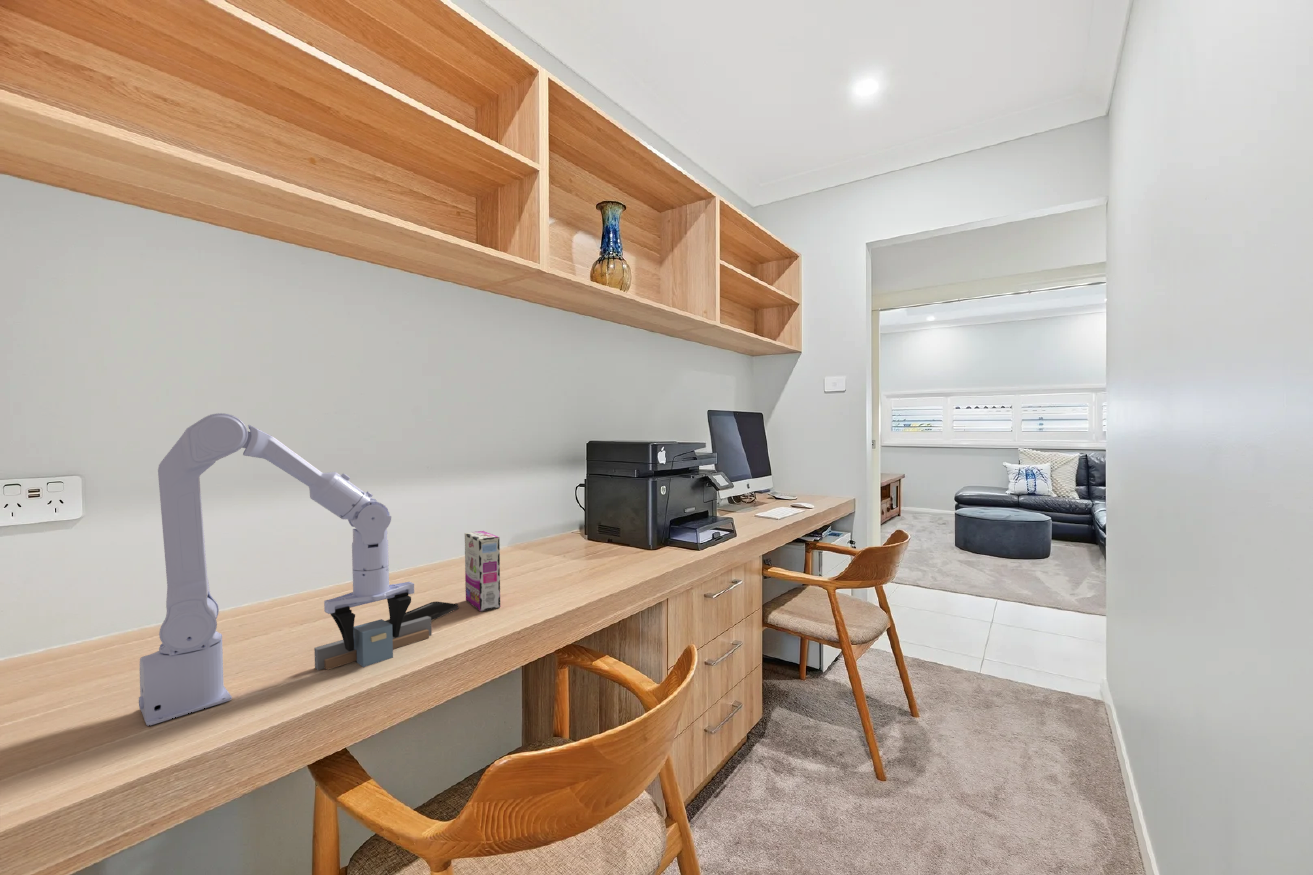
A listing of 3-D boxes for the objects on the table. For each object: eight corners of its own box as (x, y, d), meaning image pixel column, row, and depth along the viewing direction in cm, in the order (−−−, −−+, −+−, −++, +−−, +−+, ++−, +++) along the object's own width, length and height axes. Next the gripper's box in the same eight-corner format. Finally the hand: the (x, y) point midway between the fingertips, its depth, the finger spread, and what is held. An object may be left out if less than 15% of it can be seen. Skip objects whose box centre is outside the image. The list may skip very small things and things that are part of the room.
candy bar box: (502, 607, 123) (500, 536, 122) (480, 612, 120) (478, 539, 120) (485, 596, 132) (483, 529, 131) (464, 600, 129) (463, 532, 128)
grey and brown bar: (320, 672, 91) (319, 651, 91) (314, 667, 93) (314, 647, 93) (434, 636, 106) (433, 618, 106) (427, 633, 108) (427, 616, 108)
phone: (380, 622, 112) (434, 601, 126) (380, 628, 112) (434, 605, 126) (408, 627, 109) (460, 604, 123) (408, 632, 109) (460, 609, 123)
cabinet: (364, 668, 92) (364, 633, 92) (353, 660, 96) (352, 626, 96) (394, 658, 96) (393, 625, 96) (382, 651, 99) (381, 619, 99)
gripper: (333, 579, 88) (336, 662, 88) (421, 562, 99) (422, 635, 99) (319, 572, 92) (321, 651, 93) (404, 556, 103) (405, 626, 104)
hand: (372, 642), depth 96 cm, fingers open, 7 cm apart
